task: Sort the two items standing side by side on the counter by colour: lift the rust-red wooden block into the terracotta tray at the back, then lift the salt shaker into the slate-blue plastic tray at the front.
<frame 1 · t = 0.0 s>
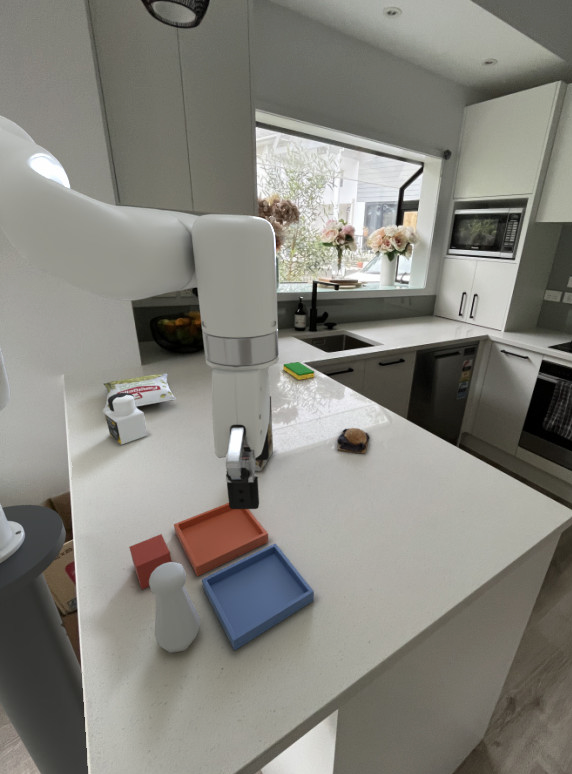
hand: (251, 480, 46), 25 cm above the counter, tool pointing down, fingers open, 9 cm apart
red tray: (221, 537, 71), on the counter
red block: (154, 571, 63), on the counter
salt shaker: (180, 639, 53), on the counter
frozen beans: (140, 399, 124), on the counter
burger: (353, 443, 104), on the counter
coffee box: (256, 460, 94), on the counter
dish sponge: (298, 373, 152), on the counter
medicine bottle: (129, 436, 103), on the counter
blue tray: (257, 594, 60), on the counter
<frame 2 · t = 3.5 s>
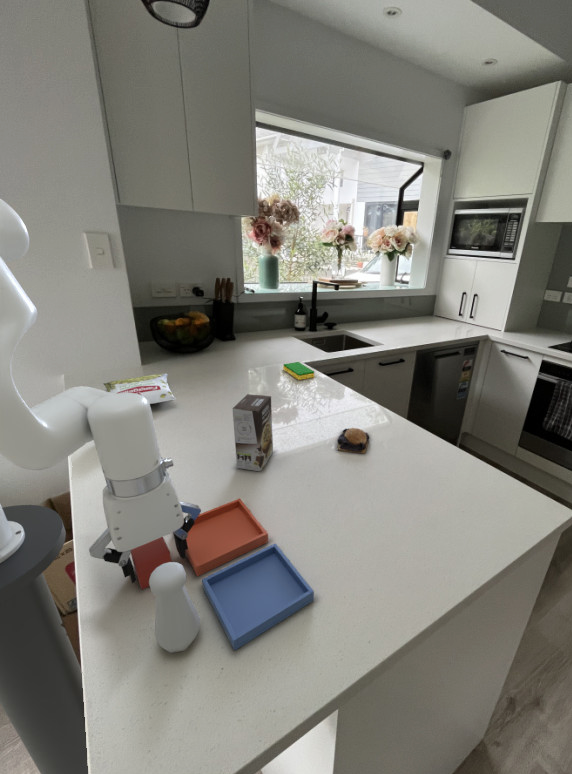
hand: (157, 564, 62), 2 cm above the counter, tool pointing down, fingers open, 7 cm apart
nothing on the counter moved.
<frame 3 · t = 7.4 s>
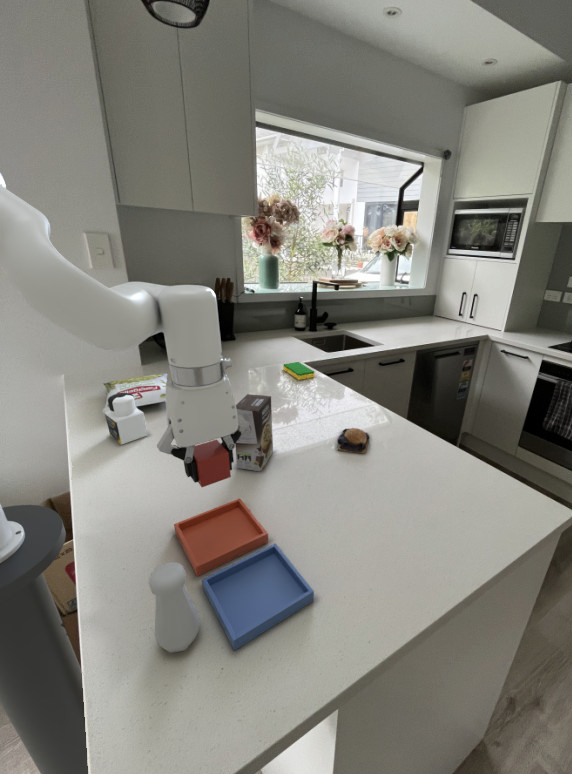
hand: (210, 471, 64), 15 cm above the counter, tool pointing down, fingers closed on red block, 5 cm apart
red block: (211, 474, 64), point 14 cm above the counter, touching gripper
everything else where it was.
when the fingers open (1 cm above the counter, at t = 10.9 s): red block stays where it is, resting on red tray.
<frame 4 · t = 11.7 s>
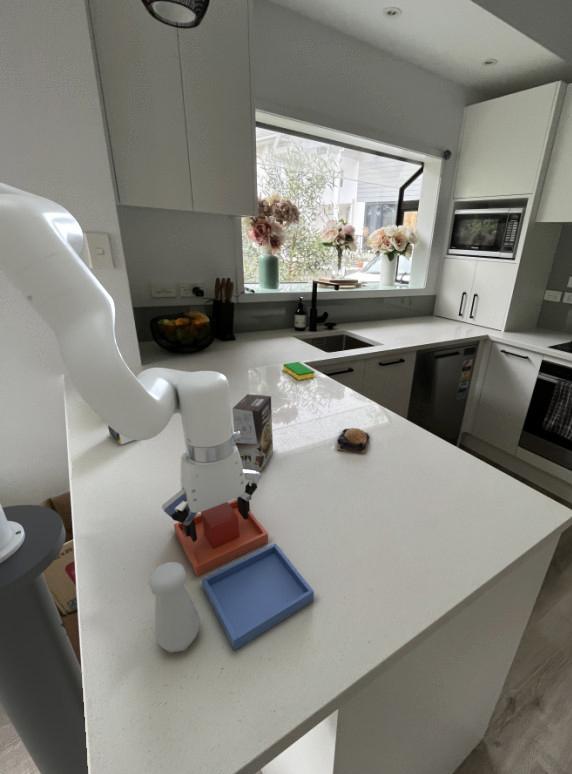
hand: (218, 525, 69), 3 cm above the counter, tool pointing down, fingers open, 9 cm apart
red block: (221, 534, 70), point 1 cm above the counter, touching red tray
everything else where it was.
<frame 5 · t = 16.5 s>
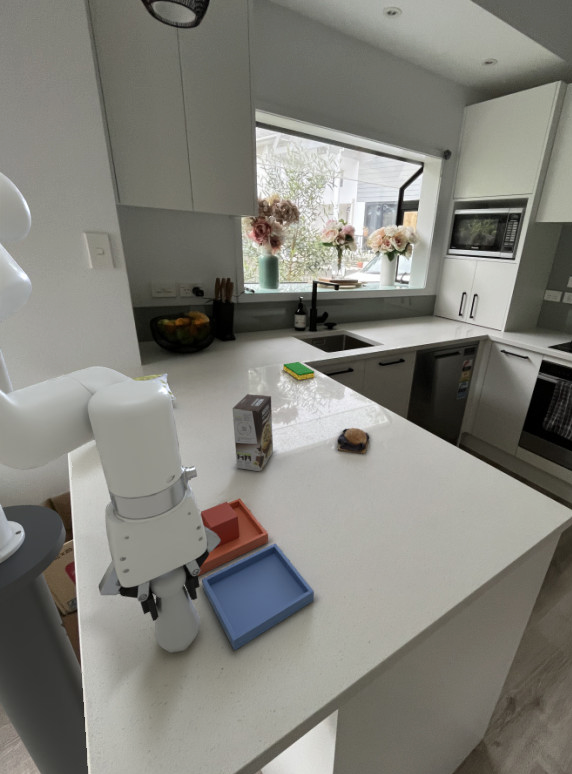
hand: (172, 600, 50), 8 cm above the counter, tool pointing down, fingers closed on salt shaker, 4 cm apart
salt shaker: (180, 639, 53), on the counter, touching gripper
everything else where it was.
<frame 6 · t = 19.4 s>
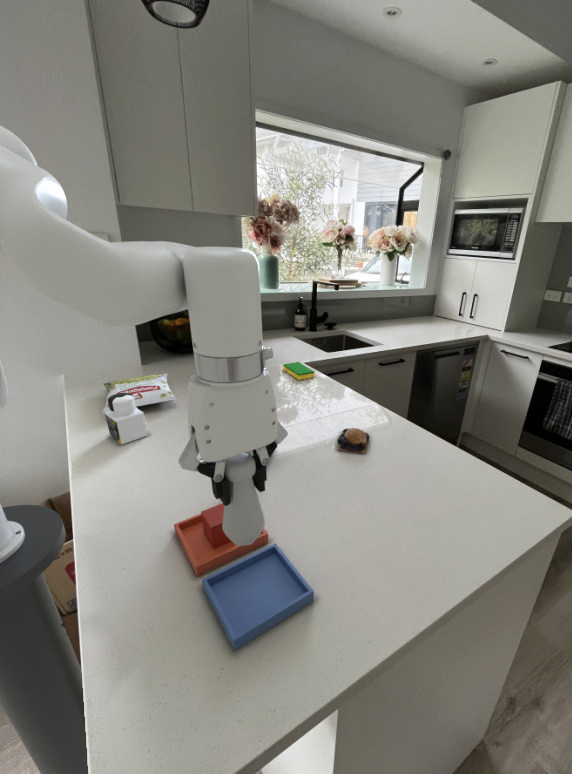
hand: (240, 491, 50), 21 cm above the counter, tool pointing down, fingers closed on salt shaker, 4 cm apart
salt shaker: (244, 536, 54), point 13 cm above the counter, touching gripper
everything else where it was.
when the fingers open (8 cm above the counter, at t = 22.6 s): salt shaker stays where it is, resting on blue tray.
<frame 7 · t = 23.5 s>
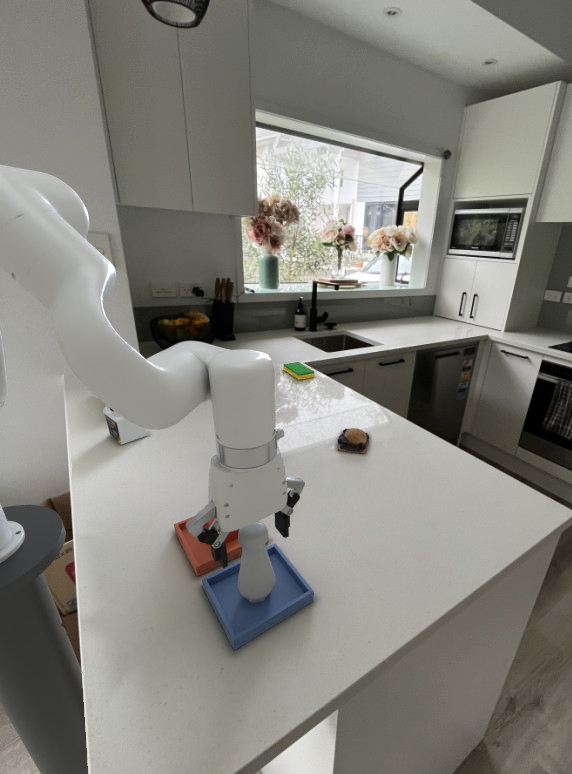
hand: (253, 545, 56), 10 cm above the counter, tool pointing down, fingers open, 9 cm apart
salt shaker: (257, 592, 60), resting on blue tray
everything else where it was.
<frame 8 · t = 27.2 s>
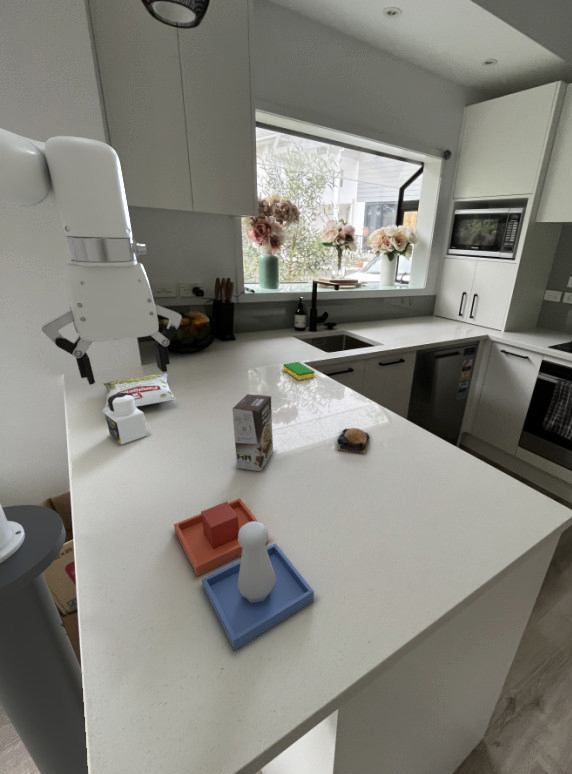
hand: (128, 375, 56), 32 cm above the counter, tool pointing down, fingers open, 9 cm apart
nothing on the counter moved.
at the end: red block inside the target area in the red tray (0.1 cm from its centre), point 0.6 cm above the red tray's base; salt shaker inside the target area in the blue tray (0.0 cm from its centre), point 0.4 cm above the blue tray's base; salt shaker tilted 0° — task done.
